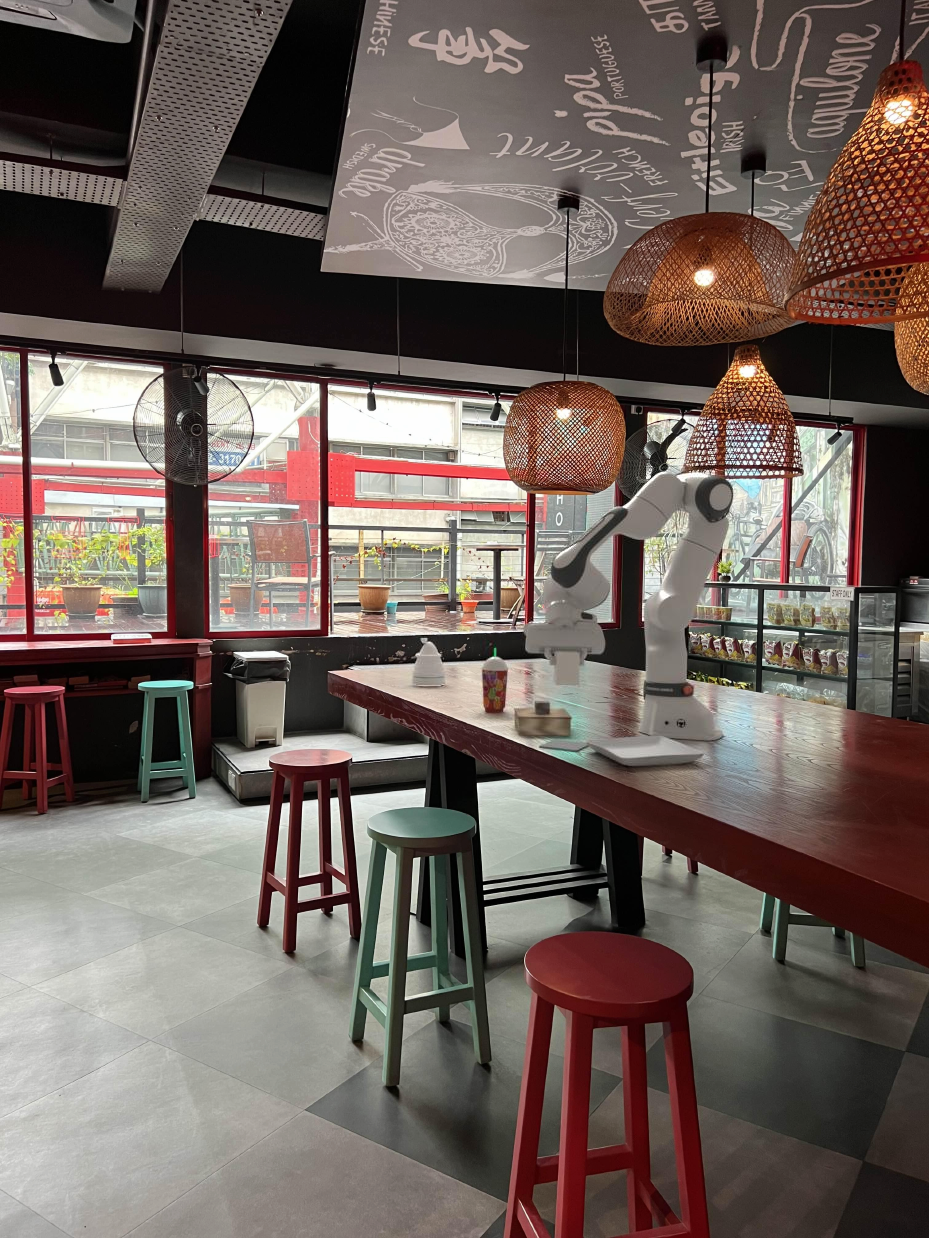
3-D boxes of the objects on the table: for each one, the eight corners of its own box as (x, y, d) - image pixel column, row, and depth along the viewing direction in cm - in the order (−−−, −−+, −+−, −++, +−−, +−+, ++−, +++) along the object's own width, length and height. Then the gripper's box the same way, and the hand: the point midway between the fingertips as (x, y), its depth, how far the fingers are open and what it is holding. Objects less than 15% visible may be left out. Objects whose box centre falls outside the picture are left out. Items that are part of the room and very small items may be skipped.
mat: (591, 744, 219) (591, 743, 219) (576, 751, 210) (576, 750, 210) (554, 740, 223) (554, 739, 223) (539, 747, 215) (539, 745, 215)
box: (564, 725, 246) (564, 698, 245) (571, 735, 231) (571, 705, 231) (513, 725, 245) (514, 697, 245) (517, 734, 231) (518, 705, 231)
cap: (575, 682, 219) (576, 650, 218) (578, 685, 213) (579, 653, 213) (553, 681, 219) (554, 650, 218) (556, 684, 213) (557, 652, 213)
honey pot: (410, 686, 327) (410, 639, 326) (413, 682, 340) (414, 637, 339) (444, 687, 327) (444, 640, 326) (446, 682, 339) (446, 637, 338)
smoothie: (508, 709, 274) (509, 647, 273) (506, 713, 266) (507, 649, 265) (482, 709, 275) (482, 646, 274) (480, 713, 266) (480, 648, 265)
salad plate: (622, 771, 191) (622, 756, 191) (583, 752, 211) (583, 738, 211) (706, 767, 197) (706, 752, 196) (661, 748, 217) (661, 735, 217)
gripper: (523, 614, 222) (526, 655, 212) (602, 615, 222) (608, 656, 213) (522, 630, 226) (524, 671, 217) (599, 631, 227) (605, 672, 218)
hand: (567, 664), depth 215 cm, fingers closed on cap, 6 cm apart
